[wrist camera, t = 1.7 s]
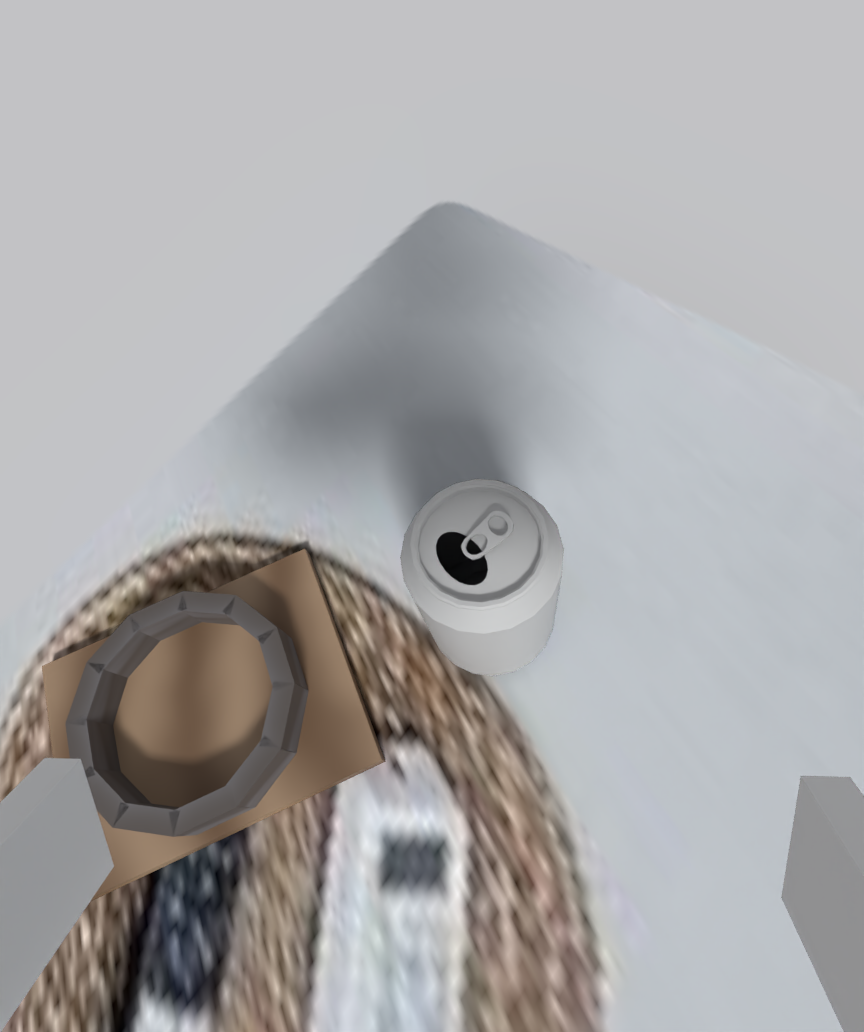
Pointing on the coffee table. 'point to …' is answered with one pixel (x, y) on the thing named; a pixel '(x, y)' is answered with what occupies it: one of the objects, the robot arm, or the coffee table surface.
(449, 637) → the can
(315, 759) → the can holder
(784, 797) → the coffee table surface
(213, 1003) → the coffee table surface
